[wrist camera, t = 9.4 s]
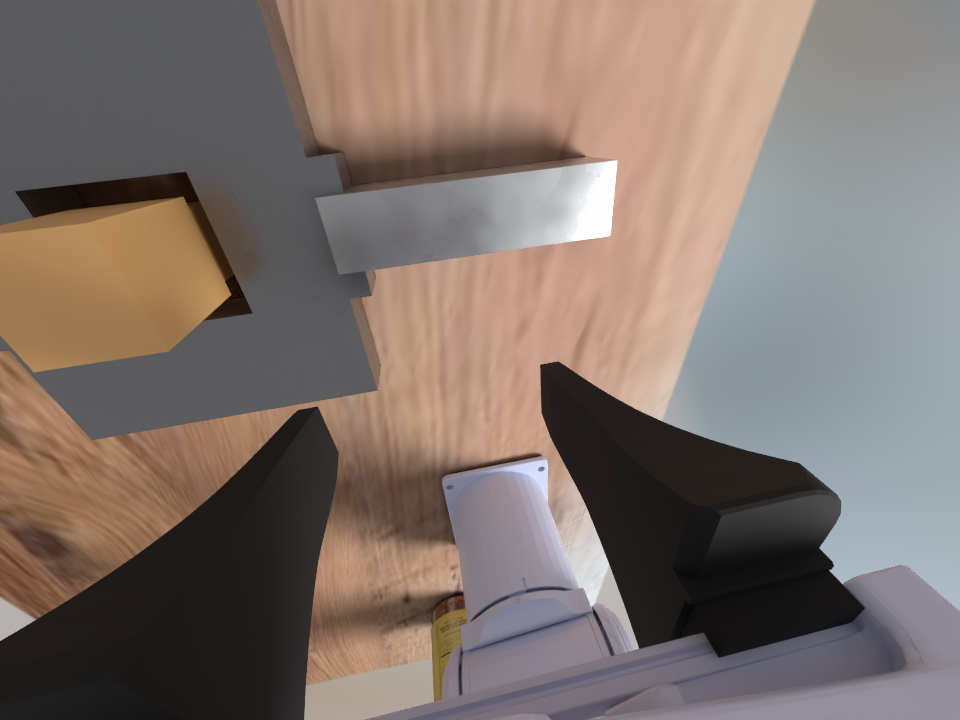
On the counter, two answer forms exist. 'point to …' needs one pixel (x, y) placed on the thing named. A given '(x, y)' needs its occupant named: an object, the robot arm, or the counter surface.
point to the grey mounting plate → (242, 199)
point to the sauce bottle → (445, 636)
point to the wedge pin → (108, 281)
